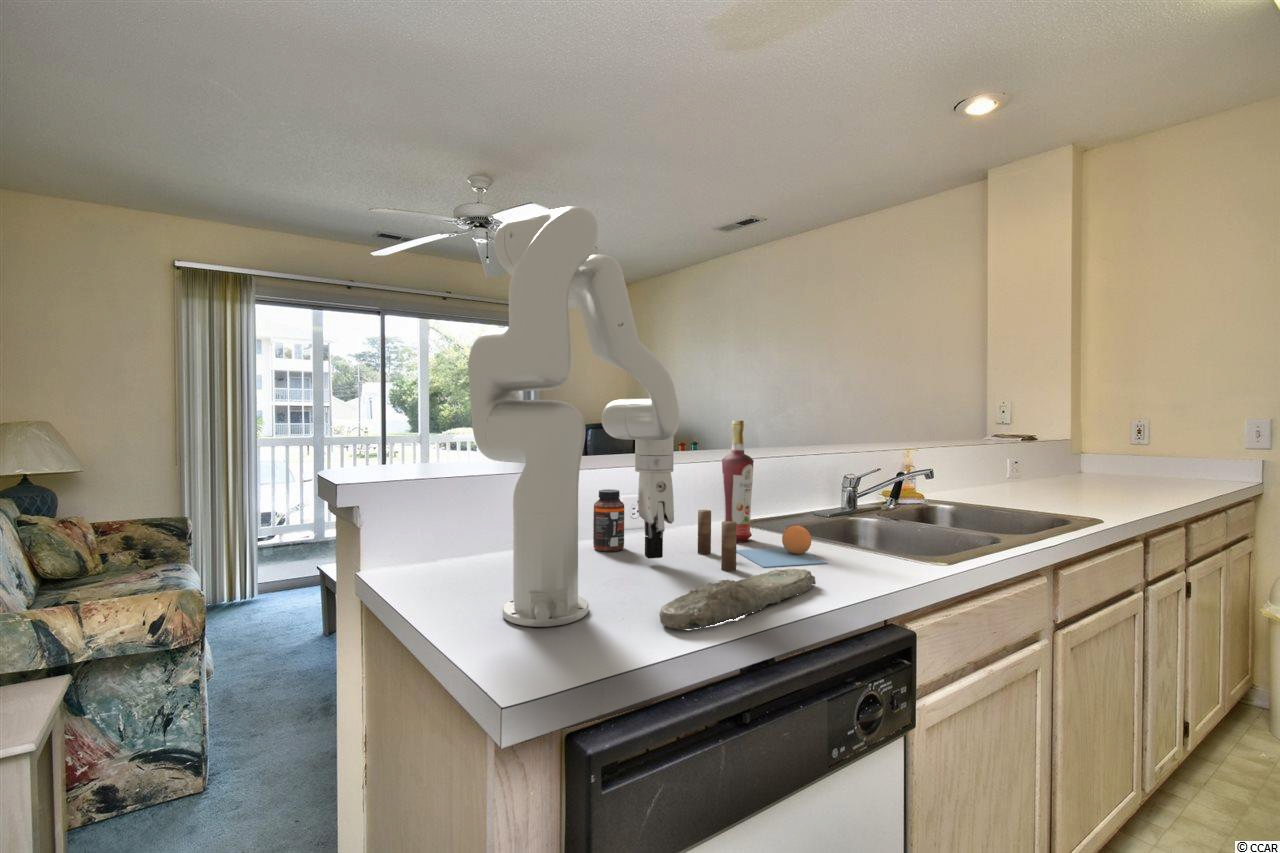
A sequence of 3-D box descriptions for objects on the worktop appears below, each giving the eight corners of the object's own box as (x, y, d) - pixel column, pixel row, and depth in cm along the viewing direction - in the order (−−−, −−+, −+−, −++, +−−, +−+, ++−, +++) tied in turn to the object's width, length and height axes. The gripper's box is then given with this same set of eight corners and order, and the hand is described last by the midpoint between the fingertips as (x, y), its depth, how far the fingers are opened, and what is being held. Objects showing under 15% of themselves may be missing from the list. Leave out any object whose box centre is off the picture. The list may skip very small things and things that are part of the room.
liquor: (738, 545, 133) (739, 421, 132) (714, 539, 139) (715, 420, 138) (759, 540, 138) (760, 420, 137) (735, 535, 143) (736, 420, 143)
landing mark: (827, 563, 117) (827, 562, 117) (763, 567, 114) (763, 566, 114) (792, 547, 131) (792, 546, 131) (734, 551, 127) (734, 550, 127)
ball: (821, 534, 123) (797, 525, 121) (810, 561, 123) (787, 552, 121) (805, 527, 129) (782, 519, 127) (795, 553, 128) (772, 545, 127)
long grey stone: (831, 598, 101) (781, 588, 108) (830, 567, 101) (780, 559, 108) (695, 641, 77) (642, 624, 84) (695, 599, 77) (643, 587, 84)
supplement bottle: (623, 552, 125) (623, 492, 125) (591, 552, 125) (591, 492, 125) (625, 545, 132) (625, 488, 132) (594, 545, 132) (595, 488, 132)
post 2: (738, 570, 111) (738, 523, 111) (724, 571, 111) (725, 524, 110) (732, 567, 114) (733, 520, 114) (719, 568, 113) (719, 521, 113)
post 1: (712, 554, 124) (713, 511, 124) (700, 555, 123) (700, 512, 123) (708, 551, 127) (708, 509, 127) (695, 551, 126) (696, 510, 126)
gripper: (684, 467, 109) (683, 565, 109) (661, 460, 123) (661, 547, 124) (645, 467, 107) (644, 568, 107) (626, 461, 121) (626, 549, 122)
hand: (653, 557), depth 115 cm, fingers closed
